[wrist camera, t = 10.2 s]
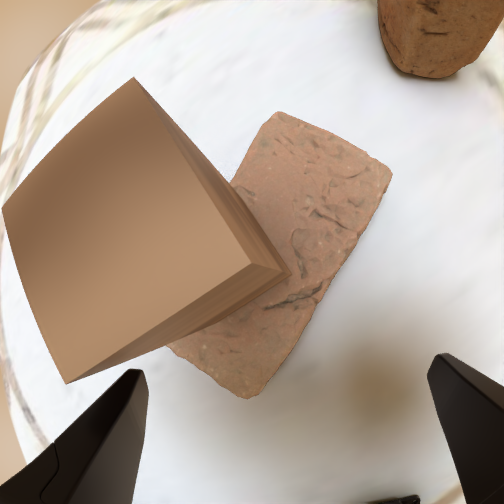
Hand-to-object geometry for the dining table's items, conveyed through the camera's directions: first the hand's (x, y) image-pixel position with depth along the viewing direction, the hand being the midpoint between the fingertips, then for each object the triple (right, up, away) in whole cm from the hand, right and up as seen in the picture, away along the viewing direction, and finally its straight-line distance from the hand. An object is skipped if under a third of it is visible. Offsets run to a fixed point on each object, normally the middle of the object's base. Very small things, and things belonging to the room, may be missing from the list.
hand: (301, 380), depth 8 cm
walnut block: (-3, +3, +9) cm, 10 cm away
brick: (0, +3, +14) cm, 14 cm away
